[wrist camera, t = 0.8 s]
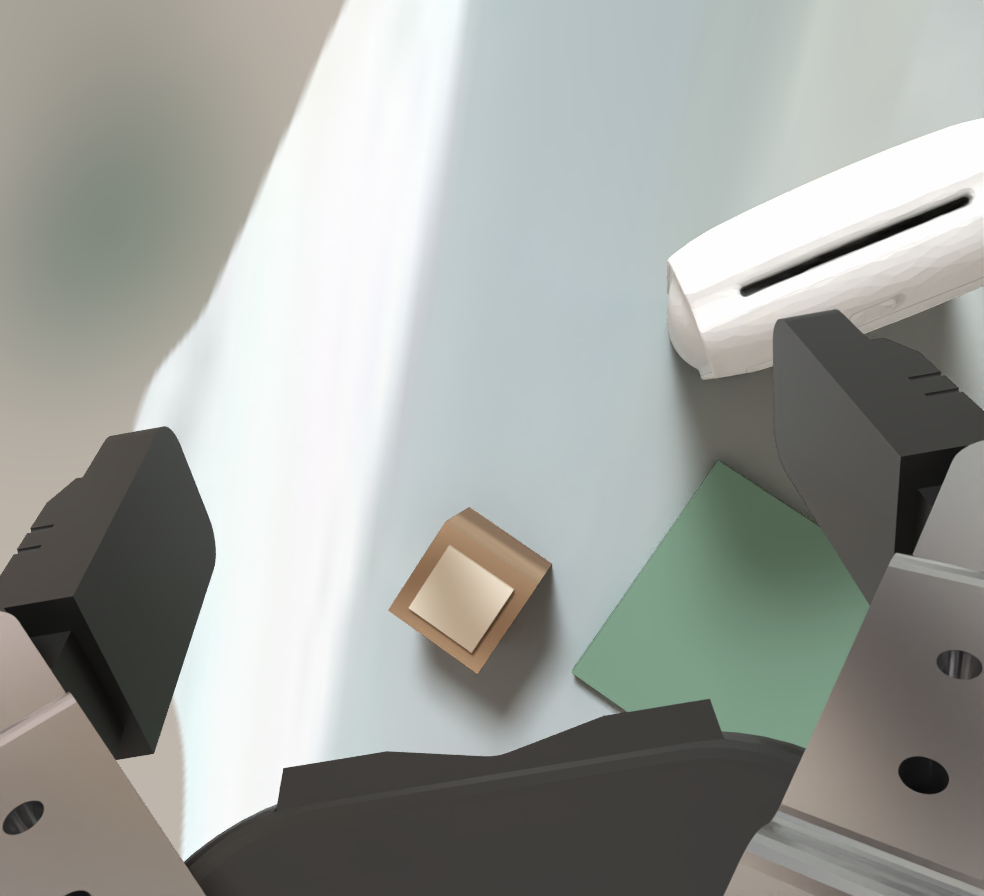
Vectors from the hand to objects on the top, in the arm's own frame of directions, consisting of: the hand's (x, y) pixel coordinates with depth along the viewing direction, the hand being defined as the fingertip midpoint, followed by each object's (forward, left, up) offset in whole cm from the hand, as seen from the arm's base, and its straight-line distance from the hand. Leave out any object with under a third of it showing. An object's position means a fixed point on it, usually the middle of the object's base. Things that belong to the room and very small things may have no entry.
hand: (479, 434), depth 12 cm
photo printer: (-7, +4, -24) cm, 26 cm away
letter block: (+9, 0, -24) cm, 26 cm away
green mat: (+5, +10, -24) cm, 26 cm away
